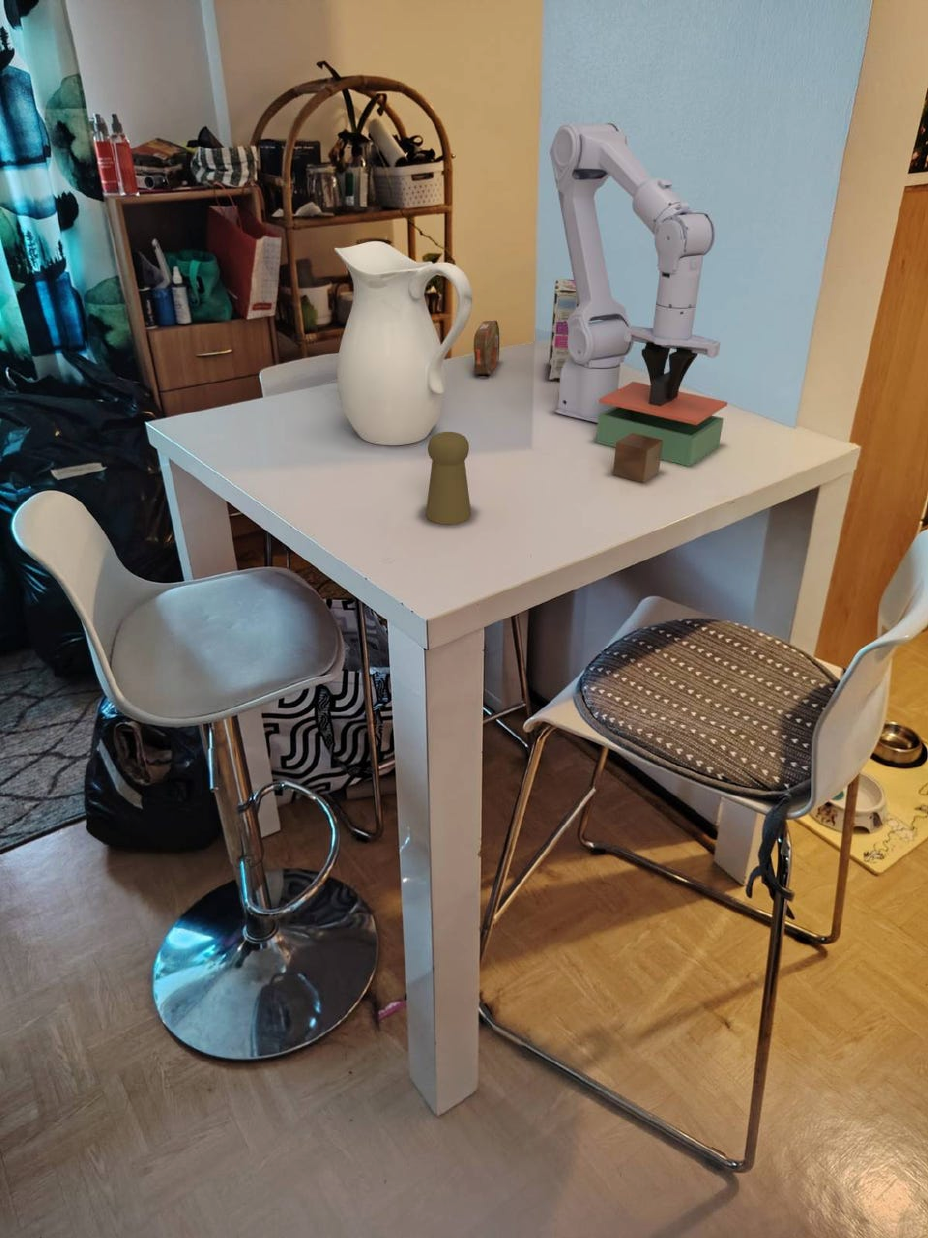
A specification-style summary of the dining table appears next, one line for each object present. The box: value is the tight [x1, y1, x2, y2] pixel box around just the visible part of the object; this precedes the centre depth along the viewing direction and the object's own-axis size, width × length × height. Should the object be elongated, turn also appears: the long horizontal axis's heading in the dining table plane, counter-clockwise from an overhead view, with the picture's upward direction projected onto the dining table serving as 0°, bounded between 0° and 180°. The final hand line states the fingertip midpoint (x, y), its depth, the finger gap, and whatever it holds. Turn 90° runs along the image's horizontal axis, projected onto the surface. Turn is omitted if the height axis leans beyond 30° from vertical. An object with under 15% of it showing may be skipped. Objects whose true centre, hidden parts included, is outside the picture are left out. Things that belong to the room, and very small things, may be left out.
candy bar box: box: [548, 278, 578, 382], centre depth 168 cm, size 11×5×16 cm, turn 174°
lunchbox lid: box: [599, 371, 728, 425], centre depth 136 cm, size 16×11×4 cm
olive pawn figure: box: [425, 431, 472, 525], centre depth 115 cm, size 6×6×11 cm
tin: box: [473, 320, 500, 376], centre depth 172 cm, size 15×3×8 cm, turn 168°
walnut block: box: [612, 433, 663, 484], centre depth 129 cm, size 5×5×5 cm
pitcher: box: [333, 240, 473, 446], centre depth 134 cm, size 24×17×28 cm
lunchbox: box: [595, 406, 725, 467], centre depth 140 cm, size 16×11×4 cm
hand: (663, 395), depth 137 cm, fingers closed on lunchbox lid, 2 cm apart
